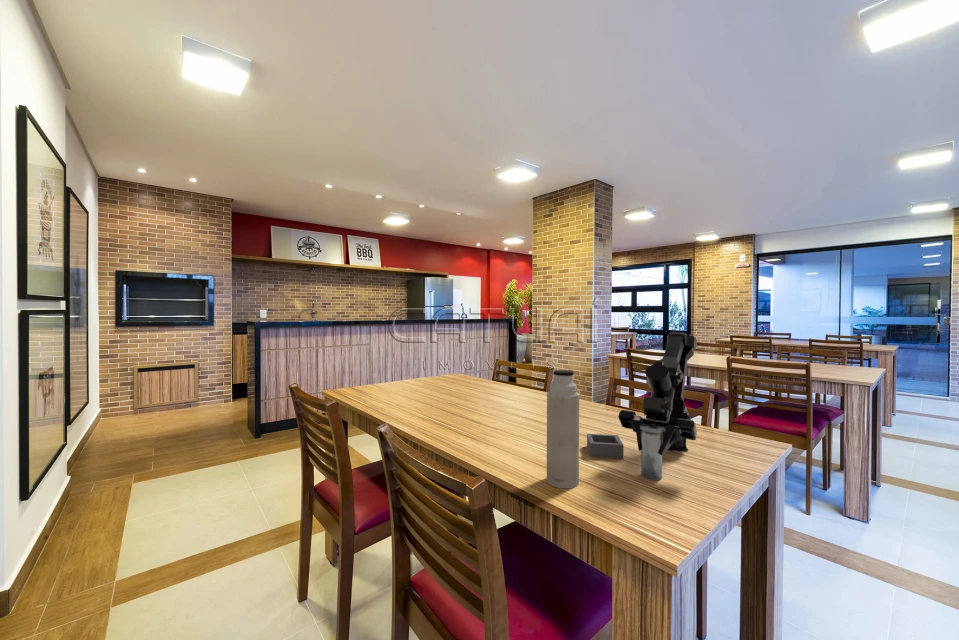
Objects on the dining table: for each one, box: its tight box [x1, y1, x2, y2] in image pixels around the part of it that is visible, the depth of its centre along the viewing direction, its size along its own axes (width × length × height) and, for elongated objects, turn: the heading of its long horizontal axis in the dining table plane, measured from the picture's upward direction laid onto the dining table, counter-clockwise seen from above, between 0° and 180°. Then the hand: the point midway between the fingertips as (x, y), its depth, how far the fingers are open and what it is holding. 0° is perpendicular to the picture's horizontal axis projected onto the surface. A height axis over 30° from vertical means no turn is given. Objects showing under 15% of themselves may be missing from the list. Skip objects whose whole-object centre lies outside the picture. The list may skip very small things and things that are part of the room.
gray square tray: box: [586, 433, 625, 460], centre depth 117 cm, size 9×9×4 cm
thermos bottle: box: [546, 369, 580, 489], centre depth 96 cm, size 8×8×28 cm
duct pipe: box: [640, 423, 664, 481], centre depth 99 cm, size 6×6×13 cm
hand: (650, 452), depth 98 cm, fingers closed on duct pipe, 5 cm apart
